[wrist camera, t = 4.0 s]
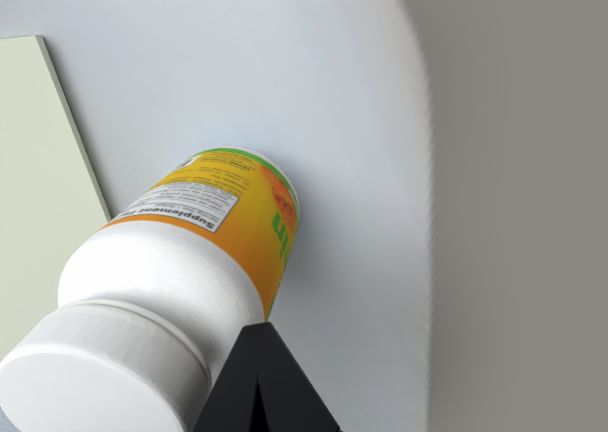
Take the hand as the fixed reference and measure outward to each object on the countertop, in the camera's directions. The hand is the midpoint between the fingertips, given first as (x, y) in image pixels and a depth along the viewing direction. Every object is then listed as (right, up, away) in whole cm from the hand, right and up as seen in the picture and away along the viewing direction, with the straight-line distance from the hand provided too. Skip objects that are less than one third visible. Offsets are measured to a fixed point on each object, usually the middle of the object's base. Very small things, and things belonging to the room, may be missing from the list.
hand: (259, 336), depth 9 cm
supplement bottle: (-2, +3, +7) cm, 8 cm away
